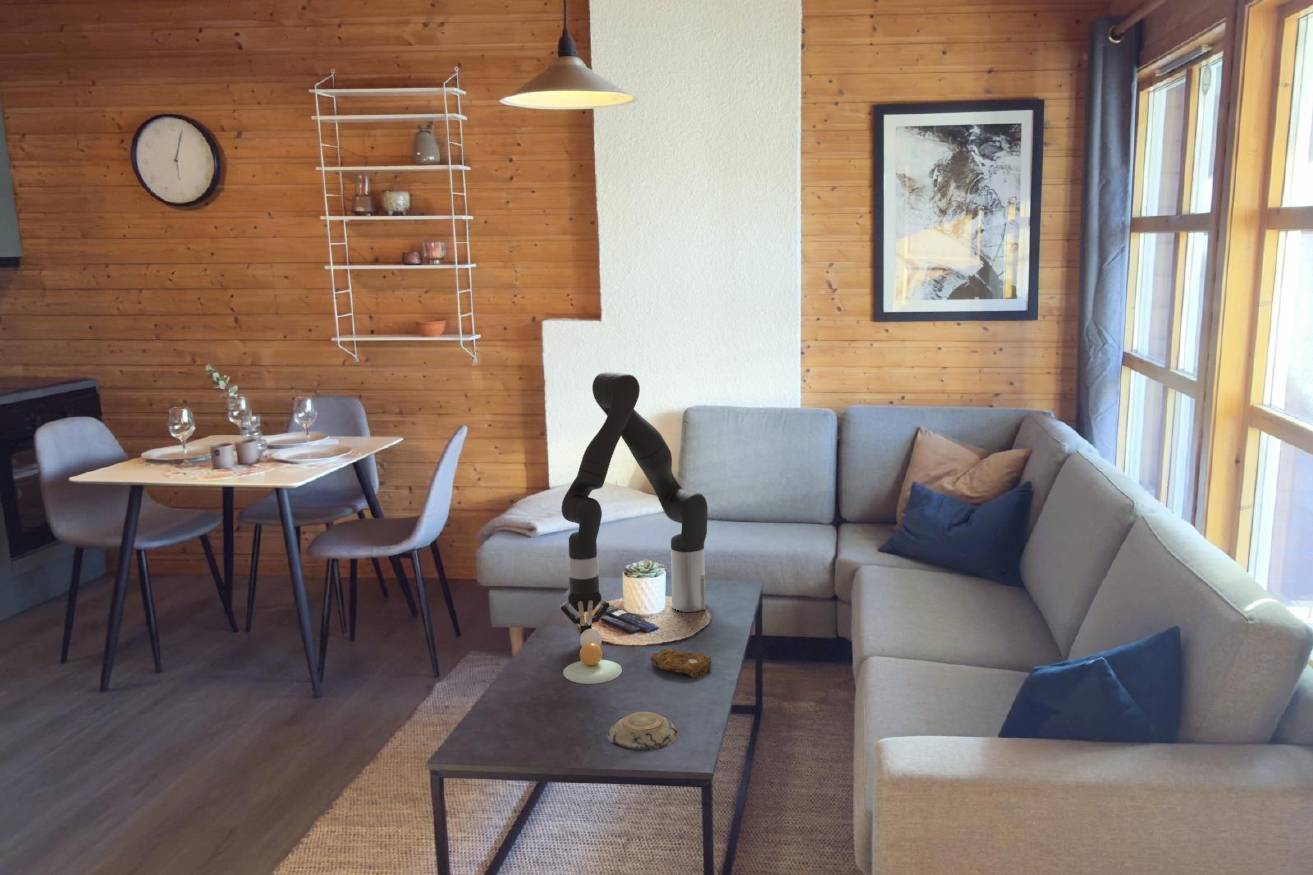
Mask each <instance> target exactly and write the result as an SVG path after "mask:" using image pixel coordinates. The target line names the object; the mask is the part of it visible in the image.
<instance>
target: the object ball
mask: <svg viewBox="0 0 1313 875" xmlns="http://www.w3.org/2000/svg"><path fill="white" fill-rule="evenodd" d="M602 658H603V650H602V648H601V645H600V646H599V645H597V644H595V643H587V644H585V645H584V646H583V647H582V646H581V648H580V649H579V659H580V661H582V662H583V663H584V664H586V665H589V666H593V665H596V664H598V663H599V662H600V660H602Z"/></svg>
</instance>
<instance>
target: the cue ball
mask: <svg viewBox="0 0 1313 875" xmlns="http://www.w3.org/2000/svg"><path fill="white" fill-rule="evenodd" d="M602 638H603V637H602V635H601V632H599V631H598V630H597V629H594V628H592V629H587V630H585V631H584V632H583V633H582V634H580V636H579V643H580V645H581V648H582V647H583V646H584V645H585V644H587V643H595V644H597V645H599V646H600V647H601V645H602V642H603V639H602Z"/></svg>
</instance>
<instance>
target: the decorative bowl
mask: <svg viewBox="0 0 1313 875" xmlns="http://www.w3.org/2000/svg"><path fill="white" fill-rule="evenodd" d="M677 732H678V729H677V727H676V726H675V724H674V723H672V721H670V720H669V719H668V718H666V717H664V716H663V715H659V714H658V713H655V712H652V711H638V712H632V713H630V714H627V715H626V716H625V717H623V718H621V719H619V720H617V721H616V722H615V723H614V724H613V725H611V727H610V728H609V731H608V732H607V734H606V735H607V739H608V740H609V742H610V743H612V744H616V745H618V746H620V747H623V748H625V749H629V750H634V751H637V752H638V751H639V752H646V751H650V752H651V751H656V750H659V749H660V750H661V749H664V748H666V747H668V746H670V745H671V744H673V743H675V741H677V739H678V735H677Z"/></svg>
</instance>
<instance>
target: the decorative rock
mask: <svg viewBox="0 0 1313 875" xmlns="http://www.w3.org/2000/svg"><path fill="white" fill-rule="evenodd" d="M649 660H650V661H651V662H652V664H653V666H655V667H656V668H660V670H664V671H667V672H669V671H670V672H671V673H672V674H673V673H683V674H686V675H687V676H689V677H691V678H692V679H695V677H696V678H697V677H700V676H708V674H709V672H710V666H711V663H712V660H711V655H710V654H709V655H705V654H704V653H701V652H699V653H698V652H690V651H688V652H686V651H677V650H673V649H670V648H663V649H661V650H660V651H659V652H655V653H652V654H651V656H650V658H649Z"/></svg>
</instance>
